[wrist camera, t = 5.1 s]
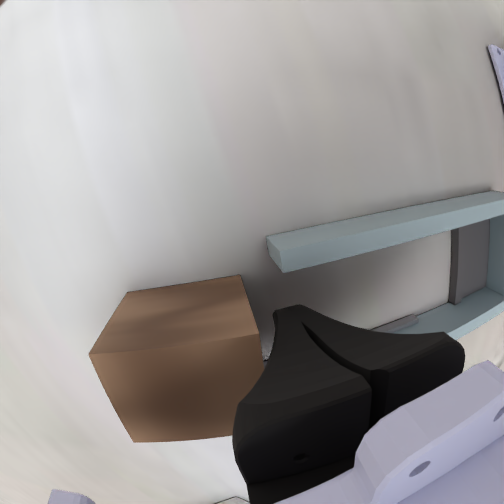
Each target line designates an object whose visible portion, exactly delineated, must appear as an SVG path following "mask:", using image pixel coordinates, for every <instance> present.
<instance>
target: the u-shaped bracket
mask: <svg viewBox="0 0 504 504" xmlns="http://www.w3.org/2000/svg"><path fill="white" fill-rule="evenodd" d="M448 230H452V257H451V279H450V293H449V302H448V303H446V304H444V305H442V306H439V307H437V308H435V309H433V310H430V311H428V312H426V313H423V314H421V315H419V316H416V317H417V318H419V322H418V323H416V324H414V325H411V326H409V327H406V328H404V329H401V330H399V331H396V332H394V333H396V334H423V333H433V332H443V331H444V332H445V333H446V334H448V335H449V336H451V337H452V338H453V339H455V340H457V339H459V338H461V337H463V336H464V335H466V334H468V333H470V332H471V331H473V330H475V329H476V328H478V327H480V326H481V325H483V324H484V323H486V322H488V321H489V320H491V319H492V318H494V317H495V316H497V315H499V314H500V313H502V312H503V311H504V192H498V191H488V192H483V193H477V194H472V195H467V196H461V197H456V198H451V199H446V200H441V201H436V202H430V203H425V204H420V205H415V206H410V207H405V208H400V209H395V210H390V211H385V212H380V213H375V214H370V215H366V216H361V217H356V218H351V219H346V220H341V221H336V222H332V223H327V224H322V225H317V226H313V227H308V228H303V229H298V230H294V231H289V232H284V233H280V234H275V235H270V236H266V240H267V246H268V251H269V255H270V257H271V258H272V259H273V260H274V262H275V263H276V264H277V266H278V267H279V268H280V270H281V271H282V272H283V273H286V272H291V271H295V270H299V269H303V268H307V267H311V266H316V265H320V264H324V263H328V262H332V261H336V260H340V259H344V258H348V257H352V256H356V255H359V254H363V253H367V252H371V251H375V250H379V249H383V248H386V247H390V246H394V245H398V244H401V243H405V242H409V241H412V240H416V239H420V238H423V237H427V236H431V235H434V234H438V233H441V232H445V231H448Z"/></svg>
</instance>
